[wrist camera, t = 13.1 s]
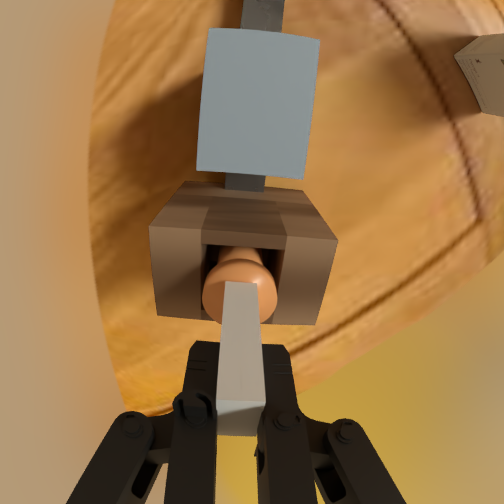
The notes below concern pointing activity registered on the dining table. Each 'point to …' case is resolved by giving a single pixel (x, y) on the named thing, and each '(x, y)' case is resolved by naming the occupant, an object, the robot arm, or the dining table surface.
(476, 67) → the supplement box
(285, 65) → the block
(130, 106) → the dining table surface
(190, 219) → the end block
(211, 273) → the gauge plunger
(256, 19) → the rail
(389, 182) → the dining table surface
